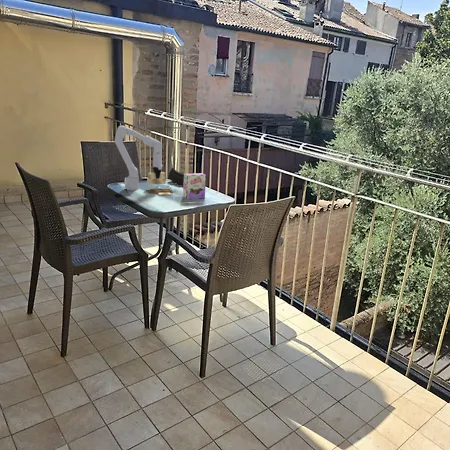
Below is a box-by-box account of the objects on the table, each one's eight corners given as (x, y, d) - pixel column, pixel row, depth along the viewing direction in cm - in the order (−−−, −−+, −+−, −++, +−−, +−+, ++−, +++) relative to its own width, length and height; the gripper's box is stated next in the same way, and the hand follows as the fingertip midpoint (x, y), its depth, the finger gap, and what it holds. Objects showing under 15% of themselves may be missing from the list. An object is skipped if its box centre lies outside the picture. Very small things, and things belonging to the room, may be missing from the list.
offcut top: (159, 195, 273) (159, 194, 273) (158, 194, 277) (158, 192, 276) (171, 195, 276) (171, 193, 276) (169, 194, 279) (169, 192, 279)
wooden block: (148, 184, 288) (148, 173, 285) (148, 183, 289) (148, 172, 287) (165, 183, 293) (165, 172, 290) (164, 183, 294) (164, 172, 292)
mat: (147, 191, 286) (147, 190, 285) (144, 189, 292) (144, 188, 292) (169, 190, 292) (169, 190, 292) (166, 188, 299) (166, 187, 299)
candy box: (186, 199, 271) (186, 175, 266) (182, 197, 276) (183, 173, 271) (205, 198, 277) (206, 174, 272) (201, 196, 282) (202, 172, 277)
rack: (150, 194, 278) (150, 190, 277) (148, 192, 283) (148, 189, 282) (173, 193, 285) (173, 190, 284) (170, 191, 289) (170, 188, 288)
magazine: (195, 177, 299) (175, 159, 317) (192, 177, 297) (171, 159, 315) (191, 198, 307) (171, 179, 326) (187, 198, 305) (167, 179, 324)
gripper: (166, 160, 281) (165, 179, 285) (160, 157, 294) (159, 175, 298) (155, 160, 278) (155, 180, 282) (150, 157, 291) (150, 176, 295)
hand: (157, 178), depth 290 cm, fingers closed on wooden block, 2 cm apart
